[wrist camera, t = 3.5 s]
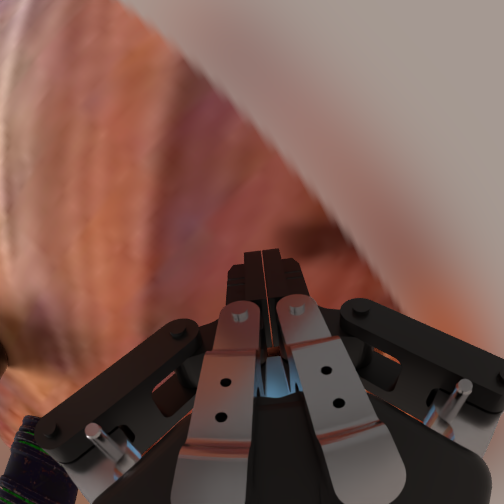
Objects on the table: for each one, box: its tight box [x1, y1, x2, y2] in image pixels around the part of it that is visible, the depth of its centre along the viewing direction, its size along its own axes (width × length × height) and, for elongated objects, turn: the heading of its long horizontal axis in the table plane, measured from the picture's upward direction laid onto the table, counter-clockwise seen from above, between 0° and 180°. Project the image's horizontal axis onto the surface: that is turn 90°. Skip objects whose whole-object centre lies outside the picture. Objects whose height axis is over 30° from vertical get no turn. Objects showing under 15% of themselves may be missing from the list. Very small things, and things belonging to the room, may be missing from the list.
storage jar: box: [0, 415, 78, 504], centre depth 19 cm, size 10×10×15 cm
